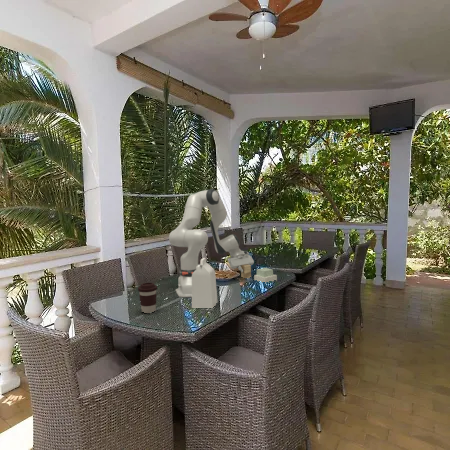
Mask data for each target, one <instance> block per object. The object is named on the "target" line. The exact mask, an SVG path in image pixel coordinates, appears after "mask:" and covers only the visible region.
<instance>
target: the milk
mask: <svg viewBox="0 0 450 450" xmlns="http://www.w3.org/2000/svg"><path fill="white" fill-rule="evenodd" d="M199 261H200V263H199V264H198V266H197V267H196V270H195V271H194V272H193V273H192V297H191V309H192V308H213V307H214V306H216V305H217V304H218V292H217V291H218V290H217V281H216V280H217V279H216V271H215V269H214V268H213V267H212V266H211V265H210V264H209V263H208V262H207V258H206V257H203V258H201V259H200V260H199ZM216 303H217V304H216ZM214 308H215V307H214ZM214 308H213V309H214Z"/></svg>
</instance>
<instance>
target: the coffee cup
mask: <svg viewBox="0 0 450 450" xmlns="http://www.w3.org/2000/svg"><path fill="white" fill-rule="evenodd" d="M157 290H158V286H157V284H155V283H154V282H142V283H141V284H140V286H138V287H137V291H138V292H139V294H138V295H139V296H138V297H139V302H140V304H139V305H140V308H141V313H142V312H144V313H150V312H154V311H155V312H156V309H157ZM155 312H154V313H155ZM144 313H143V314H144ZM150 314H151V313H150Z"/></svg>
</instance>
